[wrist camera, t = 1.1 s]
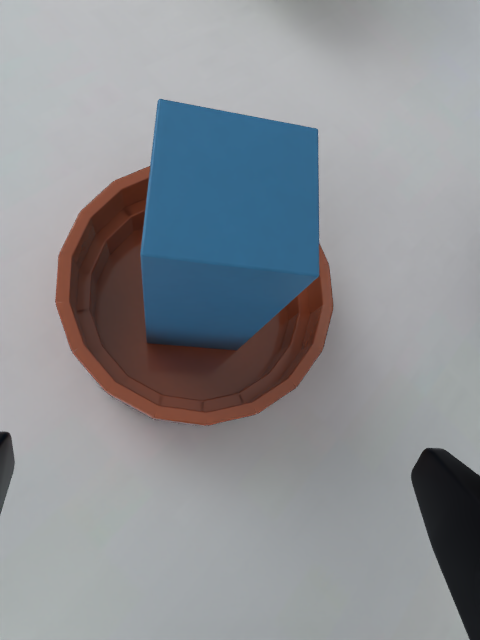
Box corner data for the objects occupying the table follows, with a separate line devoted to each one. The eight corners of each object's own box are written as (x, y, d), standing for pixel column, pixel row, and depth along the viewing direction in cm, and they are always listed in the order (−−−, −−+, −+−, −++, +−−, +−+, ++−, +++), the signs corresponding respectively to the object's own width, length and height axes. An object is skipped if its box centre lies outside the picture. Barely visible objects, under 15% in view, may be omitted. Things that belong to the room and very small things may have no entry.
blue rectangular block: (237, 350, 23) (320, 276, 12) (146, 343, 22) (139, 254, 11) (241, 267, 24) (319, 128, 13) (155, 257, 23) (158, 97, 12)
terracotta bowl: (330, 395, 24) (364, 389, 20) (89, 450, 20) (74, 456, 17) (277, 192, 26) (298, 153, 23) (57, 212, 23) (38, 170, 19)
